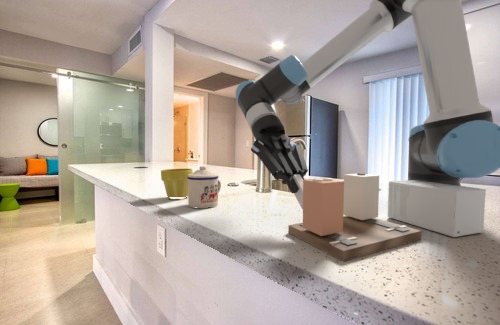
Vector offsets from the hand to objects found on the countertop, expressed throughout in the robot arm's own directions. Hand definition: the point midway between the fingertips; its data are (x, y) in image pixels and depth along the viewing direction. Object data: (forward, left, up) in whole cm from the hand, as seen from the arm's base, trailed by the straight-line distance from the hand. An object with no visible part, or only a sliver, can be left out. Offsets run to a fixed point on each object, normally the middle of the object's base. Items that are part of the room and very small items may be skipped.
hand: (308, 204), depth 48 cm
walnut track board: (-7, +4, -6) cm, 10 cm away
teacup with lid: (+10, -35, -6) cm, 36 cm away
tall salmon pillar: (0, +4, -4) cm, 5 cm away
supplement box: (-30, 0, -1) cm, 30 cm away
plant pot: (+16, -49, -6) cm, 51 cm away
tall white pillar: (-14, 0, -4) cm, 15 cm away
